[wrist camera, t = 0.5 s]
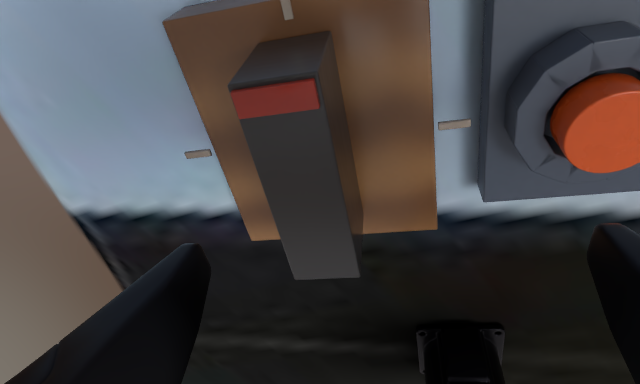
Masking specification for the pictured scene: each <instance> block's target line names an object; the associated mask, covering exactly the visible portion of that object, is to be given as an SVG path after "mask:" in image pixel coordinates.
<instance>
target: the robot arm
mask: <svg viewBox="0 0 640 384" xmlns="http://www.w3.org/2000/svg"><path fill="white" fill-rule="evenodd" d="M587 260H588V264H589V267H590V270H591V273H592V276H593V279H594V283H595V286H596V289H597V292H598V295H599V298H600V301H601V304H602V307H603V310H604V313H605V316H606V319H607V321H608V324H609V327H610V330H611V332H612V334H613V336H614V339H615V341H616V343H617V345H618V347H619V349H620V351H621V354H622V356H623V358H624V360H625V362H626V364H627V366H628V368H629V371H630V373H631V375H632V377H633V379H634V381H635V383H636V384H640V235H639V234H637V233H635V232H634V231H632V230H630V229H629V228H627V227H625V226H624V225H622V224H619V223H608V224H598V225H596V226H595V228H594V230H593V234H592V237H591V241H590V244H589V248H588V252H587ZM210 276H211V267H210V264H209V262H208V260H207V258H206V256H205V253H204V251H203V249H202V247H201V246H200V245H199V244H197V243H192V244H183V245H181V246H180V247H178V248H177V249H176V250H175V251H173V252H172V253H171V254H169V255H168V256H167V257H166V258H164V259H163V260H162V261H161V262H159V263H158V264H157V265H156V266H154V267H153V268H152V269H151V270H149V271H148V272H147V273H145V274H144V275H143V276H142V277H140V278H139V279H138V280H137V281H135V282H134V283H133V284H132V285H130V286H129V287H128V288H127V289H125V290H124V291H123V292H121V293H120V294H119V295H118V296H116V297H115V298H114V299H113V300H111V301H110V302H109V303H108V304H106V305H105V306H104V307H103V308H101V309H100V310H99V311H97V312H96V313H95V314H94V315H92V316H91V317H90V318H89V319H87V320H86V321H85V322H84V323H82V324H81V325H80V326H79V327H77V328H76V329H75V330H73V331H72V332H71V333H70V334H68V335H67V336H66V337H65V338H63V339H62V340H61V341H60V342H59V344H56V345H54V346H53V347H52V348H51V349H49V350H48V351H47V352H46V353H44V354H43V355H42V356H41V357H39V358H38V359H37V360H35V361H34V362H33V363H31V364H30V365H29V366H27V367H26V368H25V369H24V370H22V371H21V372H20V373H18V374H17V375H16V376H14V377H13V378H11V379H10V380H9V381H7V382H6V383H5V384H181V382H182V379H183V376H184V373H185V370H186V367H187V364H188V361H189V358H190V355H191V352H192V349H193V346H194V343H195V340H196V337H197V334H198V330H199V327H200V323H201V318H202V314H203V309H204V304H205V300H206V295H207V290H208V286H209V281H210ZM416 337H417V347H418V357H419V367H420V373H422V374H425V380H426V384H505V381H504V377H503V372H502V368H501V363H502V355H503V347H504V338H505V331H504V327H503V326H501V325H441V326H419V327H417V328H416Z"/></svg>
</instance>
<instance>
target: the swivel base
mask: <svg viewBox="0 0 640 384" xmlns="http://www.w3.org/2000/svg"><path fill="white" fill-rule="evenodd" d="M162 23H163V25H164V28H165V30H166V33H167V35H168V38H169V40H170V43H171V45H172V47H173V50H174V52H175V55H176V57H177V60H178V62H179V65H180V67H181V69H182V72H183V74H184V77H185V79H186V82H187V84H188V87H189V89H190V91H191V94H192V96H193V99H194V101H195V104H196V106H197V109H198V111H199V113H200V116H201V118H202V121H203V123H204V126H205V128H206V131H207V133H208V135H209V138H210V140H211V143H212V145H213V148H214V150H215V152H216V155H217V157H218V160H219V162H220V165H221V167H222V170H223V172H224V174H225V177H226V179H227V182H228V184H229V187H230V189H231V192H232V194H233V196H234V199H235V201H236V204H237V206H238V209H239V211H240V214H241V216H242V218H243V221H244V223H245V226H246V228H247V231H248V233H249V236H250V238H251V240H252V241H259V240H275V239H281V238H280V236H279V233H278V230H277V227H276V224H275V221H274V218H273V216H272V213H271V210H270V207H269V204H268V201H267V198H266V196H265V193H264V190H263V187H262V184H261V181H260V178H259V176H258V173H257V170H256V167H255V164H254V161H253V158H252V156H251V153H250V150H249V147H248V144H247V141H246V138H245V136H244V133H243V130H242V127H241V124H240V121H239V118H238V116H237V113H236V110H235V107H234V104H233V101H232V98H231V96H230V93H229V90H228V87H227V86H228V84H229V82H230V81H231V79H232V78H233V77H234V75H235V74H236V73H237V71H238V70H239V69H240V67H241V66H242V65H243V63H244V62H245V61H246V59H247V58H248V56H249V55H250V54H251V52H252V51H253V50H254V48H255V47H256V46H257V44H258V43H262V42H267V41H273V40H279V39H285V38H291V37H296V36H302V35H308V34H314V33H319V32H325V31H331V33H332V39H333V44H334V50H335V56H336V61H337V67H338V73H339V78H340V84H341V90H342V95H343V101H344V107H345V112H346V118H347V124H348V129H349V135H350V141H351V146H352V152H353V158H354V163H355V169H356V175H357V180H358V186H359V192H360V197H361V203H362V209H363V214H364V216H363V234H370V233H386V232H401V231H417V230H433V229H437V202H436V175H435V148H434V121H433V93H432V66H431V39H430V12H429V0H217V1H212V2H207V3H202V4H197V5H192V6H187V7H184V8H182V9H181V10H179V11H178V12H176V13H175V14H173V15H172V16H170V17H169V18H167V19H166V20H164V21H163V22H162ZM465 127H471V119H470V118H469V119H461V120H452V121H444V122H438V129H439V130H447V129H456V128H465ZM184 154H185V156H186V158H187V159H190V158H199V157H208V156H212V153H211V151H210V149H205V150H197V151H188V152H185V153H184Z"/></svg>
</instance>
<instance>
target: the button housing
mask: <svg viewBox="0 0 640 384" xmlns="http://www.w3.org/2000/svg"><path fill="white" fill-rule="evenodd" d="M607 73H622V74H627V75H630V76H633V77H635V78H637V79H638V80H640V0H485V6H484V32H483V59H482V85H481V111H480V137H479V163H478V187H479V190H480V193H481V196H482V199H483V202H495V201H509V200H522V199H535V198H549V197H562V196H575V195H589V194H602V193H615V192H629V191H640V162H639V163H637V164H635V165H633V166H631V167H629V168H626V169H623V170H620V171H616V172H610V173H591V172H587V171H583V170H581V169H579V168H577V167H575V166H574V165H572V164H571V163H570V162H569V161H568V159H567V158H566V156H565V155H564V153H563V152H562V150H561V149H560V147H559V146H558V144H557V143H556V141H555V140H554V138H553V136H552V134H551V130H550V120H551V115H552V113H553V110H554V108H555V106H556V105H557V103H558V102H559V100H560V99H561V98H562V97H563V96H564V95H565V94H566V93H567V92H568V91H569V90H570V89H571V88H573V87H574V86H576V85H577V84H579V83H580V82H582V81H584V80H586V79H589V78H591V77H594V76H597V75H601V74H607Z"/></svg>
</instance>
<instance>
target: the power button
mask: <svg viewBox="0 0 640 384" xmlns="http://www.w3.org/2000/svg"><path fill="white" fill-rule="evenodd" d="M550 130H551V134H552V136H553V138H554V140H555V141H556V143H557V144H558V146H559V147H560V149H561V150H562V152H563V153H564V155H565V156H566V158H567V159H568V161H569V162H570V163H571V164H572V165H574V166H575V167H577V168H579V169H581V170H583V171H587V172H591V173H610V172H616V171H620V170H623V169H626V168H629V167H631V166H633V165H635V164H637V163H639V162H640V80H638V79H637V78H635V77H633V76H630V75H627V74H622V73H607V74H601V75H597V76H594V77H591V78H589V79H586V80H584V81H582V82H580V83H579V84H577V85H576V86H574V87H573V88H571V89H570V90H569V91H568V92H567V93H566V94H565V95H564V96H563V97H562V98H561V99H560V100H559V102H558V103H557V105H556V106H555V108H554V110H553V113H552V115H551V120H550Z"/></svg>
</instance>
